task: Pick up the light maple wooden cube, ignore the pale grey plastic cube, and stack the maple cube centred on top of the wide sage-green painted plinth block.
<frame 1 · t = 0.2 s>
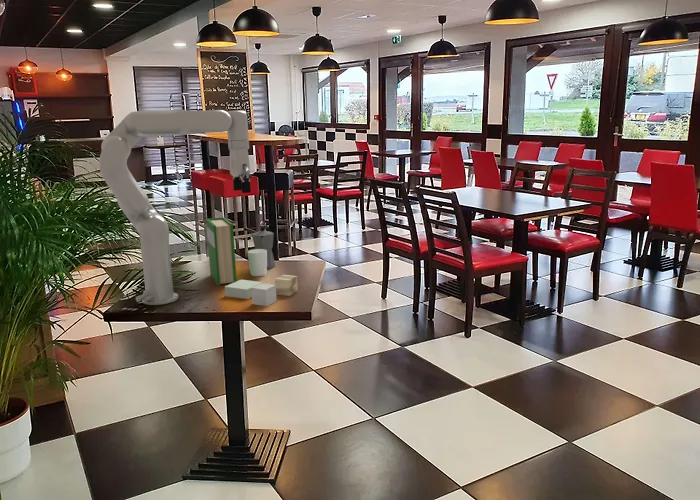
hand: (242, 191, 213), 37 cm above the table, tool pointing down, fingers open, 9 cm apart
maple cube: (286, 292, 212), on the table
grey cube: (264, 302, 201), on the table
base block: (244, 294, 212), on the table
white cup: (258, 274, 238), on the table
hardback book: (223, 279, 232), on the table
coffeepot: (265, 266, 251), on the table
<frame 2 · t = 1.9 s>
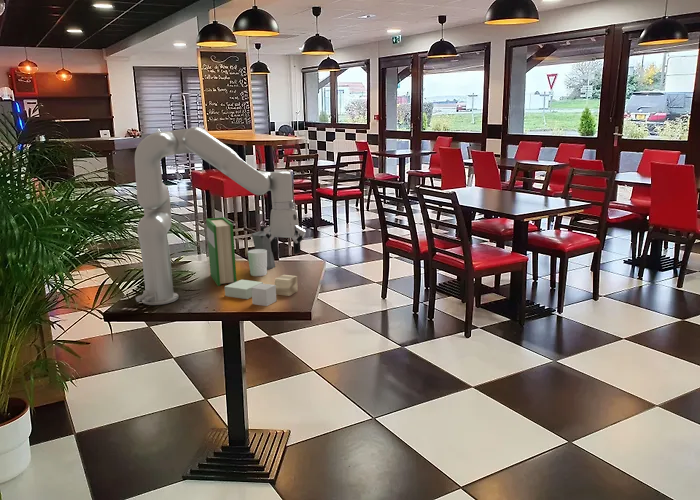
hand: (285, 252, 208), 15 cm above the table, tool pointing down, fingers open, 9 cm apart
nothing on the table moved.
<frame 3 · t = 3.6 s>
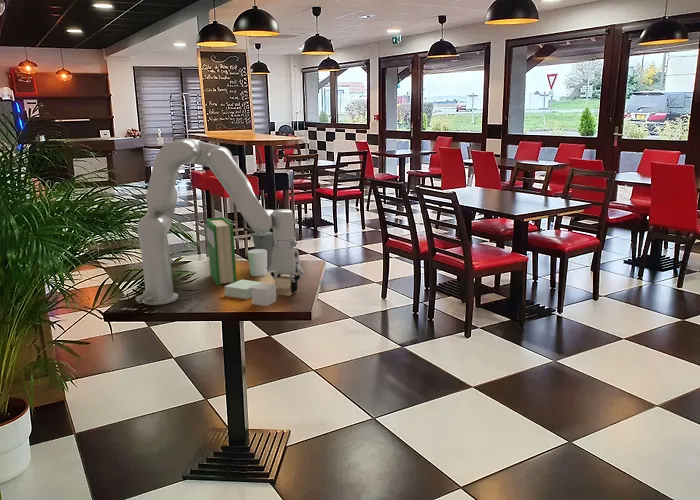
hand: (286, 290, 212), 1 cm above the table, tool pointing down, fingers closed on maple cube, 6 cm apart
maple cube: (286, 292, 212), on the table, touching gripper
everything else where it was.
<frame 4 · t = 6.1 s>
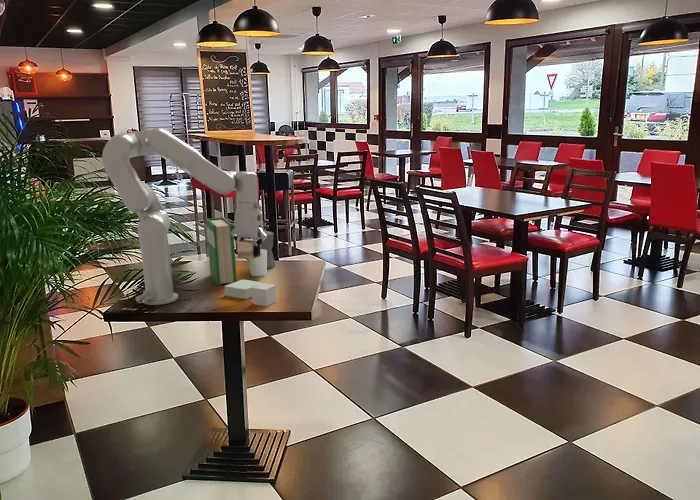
hand: (249, 254, 208), 15 cm above the table, tool pointing down, fingers closed on maple cube, 6 cm apart
maple cube: (249, 257, 208), point 14 cm above the table, touching gripper
everything else where it was.
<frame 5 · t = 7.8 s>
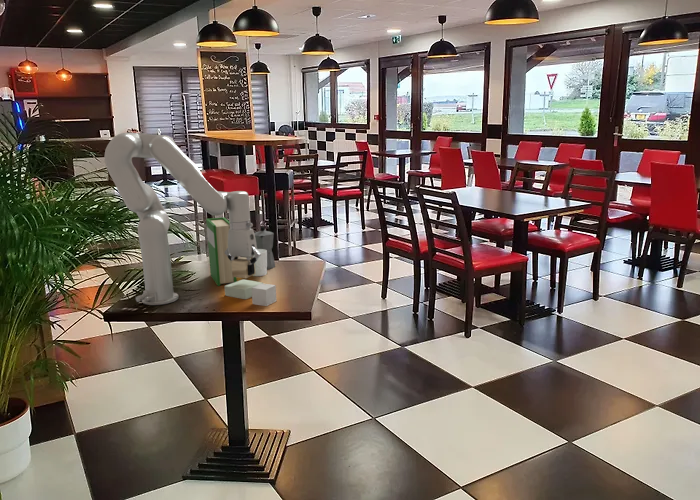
hand: (243, 273, 210), 8 cm above the table, tool pointing down, fingers closed on maple cube, 6 cm apart
maple cube: (244, 275, 210), point 7 cm above the table, touching gripper
everything else where it was.
when the fingers open (6 cm above the table, at t = 8.9 s): maple cube drops 2 cm, resting on base block.
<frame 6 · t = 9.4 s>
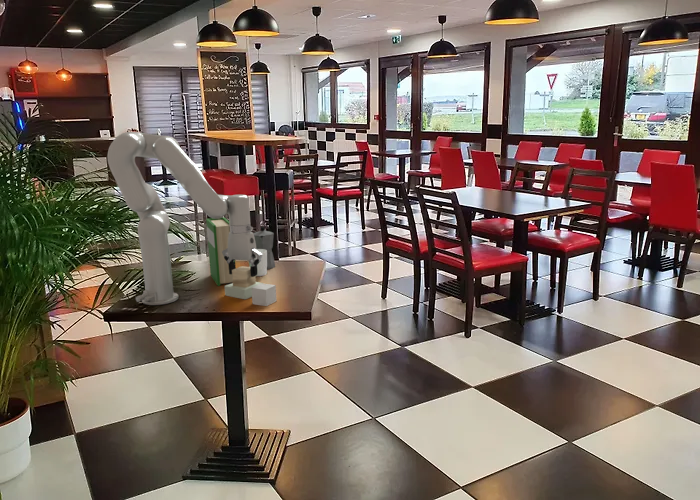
hand: (243, 274, 210), 7 cm above the table, tool pointing down, fingers open, 9 cm apart
maple cube: (244, 284, 211), point 4 cm above the table, touching base block
base block: (244, 294, 212), on the table, touching maple cube
everything else where it was.
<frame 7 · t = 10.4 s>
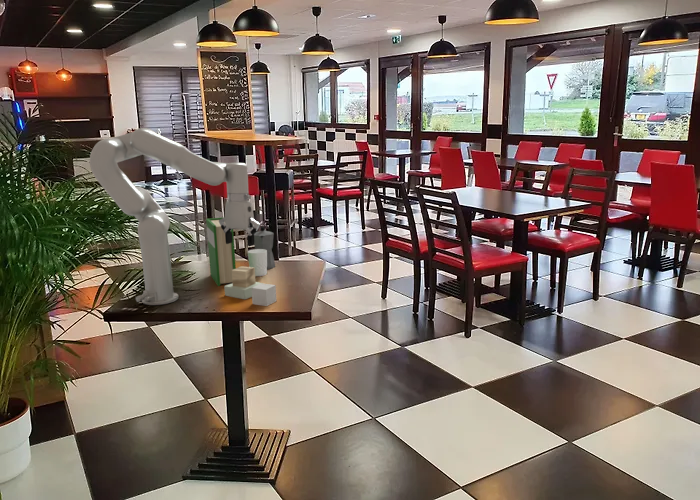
hand: (239, 244, 207), 19 cm above the table, tool pointing down, fingers open, 9 cm apart
maple cube: (244, 284, 211), point 4 cm above the table
base block: (244, 294, 212), on the table
everything else where it was.
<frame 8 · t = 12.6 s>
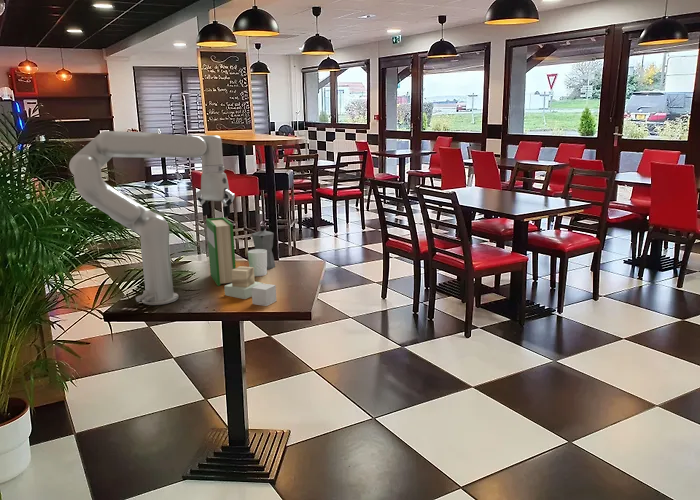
hand: (216, 215, 212), 28 cm above the table, tool pointing down, fingers open, 9 cm apart
nothing on the table moved.
at the end: maple cube 0.3 cm off-centre on the base block, point 4.0 cm above the base block's base; maple cube tilted 0°; grey cube moved 0.1 cm from its start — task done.
